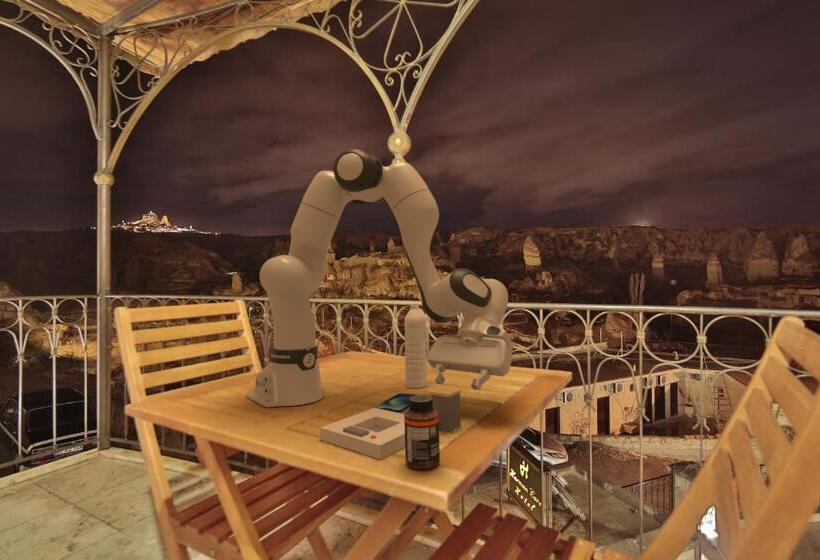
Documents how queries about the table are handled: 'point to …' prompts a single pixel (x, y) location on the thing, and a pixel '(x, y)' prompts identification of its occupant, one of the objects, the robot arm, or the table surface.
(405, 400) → the smartphone
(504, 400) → the table surface
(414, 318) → the water bottle
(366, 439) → the socket plate
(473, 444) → the table surface
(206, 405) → the table surface
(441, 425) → the plug
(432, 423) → the supplement bottle
